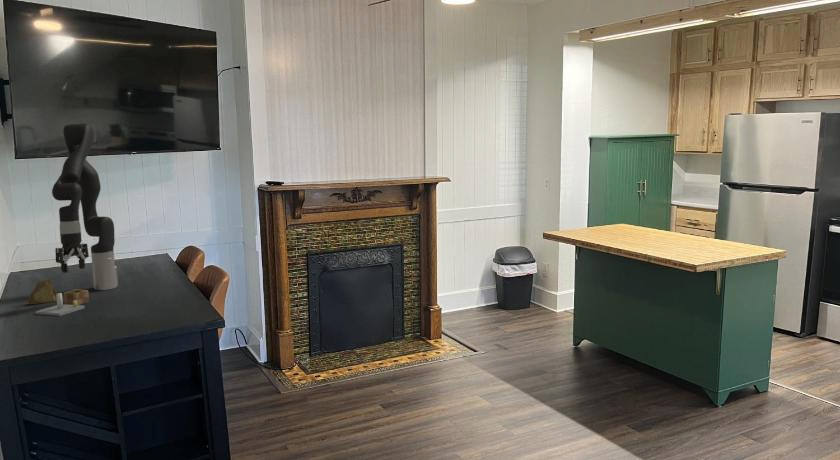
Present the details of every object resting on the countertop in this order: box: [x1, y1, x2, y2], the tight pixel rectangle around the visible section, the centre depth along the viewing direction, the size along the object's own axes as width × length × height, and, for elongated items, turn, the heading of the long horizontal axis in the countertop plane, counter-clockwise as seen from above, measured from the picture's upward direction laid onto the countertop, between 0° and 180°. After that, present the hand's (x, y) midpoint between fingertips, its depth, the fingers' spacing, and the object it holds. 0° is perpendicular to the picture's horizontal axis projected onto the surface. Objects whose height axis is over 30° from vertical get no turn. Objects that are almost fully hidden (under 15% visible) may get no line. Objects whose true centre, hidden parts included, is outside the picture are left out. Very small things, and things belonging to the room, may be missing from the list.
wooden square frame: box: [63, 288, 90, 305], centre depth 261 cm, size 6×6×5 cm
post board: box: [35, 292, 85, 317], centre depth 248 cm, size 12×12×7 cm
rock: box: [27, 279, 58, 305], centre depth 264 cm, size 11×9×10 cm
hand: (73, 270), depth 260 cm, fingers open, 8 cm apart
